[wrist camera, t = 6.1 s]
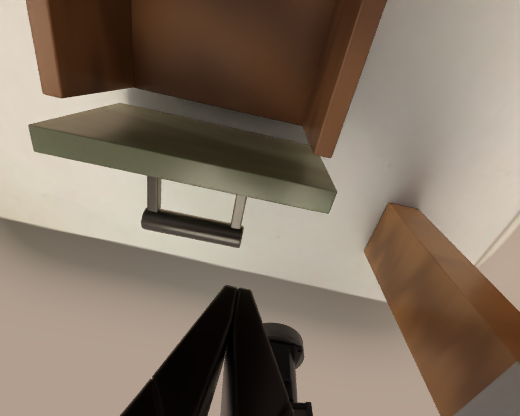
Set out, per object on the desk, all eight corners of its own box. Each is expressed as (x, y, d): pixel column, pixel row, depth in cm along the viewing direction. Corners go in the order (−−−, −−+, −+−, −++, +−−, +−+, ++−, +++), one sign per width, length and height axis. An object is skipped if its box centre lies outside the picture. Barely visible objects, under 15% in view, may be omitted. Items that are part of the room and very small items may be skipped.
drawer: (292, 220, 21) (299, 289, 14) (124, 185, 20) (53, 241, 14) (397, -113, 12) (536, -315, 6) (104, -195, 11) (-119, -530, 5)
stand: (390, 257, 23) (501, 443, 12) (363, 251, 23) (449, 434, 12) (418, 209, 21) (591, 384, 9) (388, 202, 21) (527, 372, 9)
